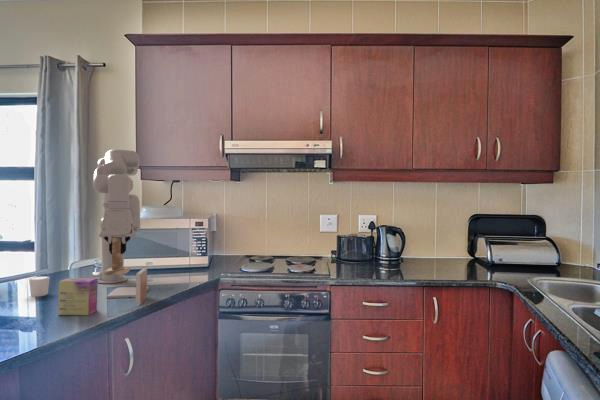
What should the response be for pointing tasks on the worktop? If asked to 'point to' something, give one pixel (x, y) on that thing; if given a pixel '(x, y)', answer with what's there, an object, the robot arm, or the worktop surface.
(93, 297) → the box
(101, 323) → the worktop surface
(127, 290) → the rest pad
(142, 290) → the tile
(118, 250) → the masher
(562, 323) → the worktop surface
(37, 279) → the white cup
